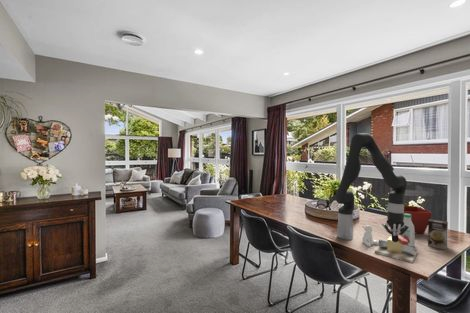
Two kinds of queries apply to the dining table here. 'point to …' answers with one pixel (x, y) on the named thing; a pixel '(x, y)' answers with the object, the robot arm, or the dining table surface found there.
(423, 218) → the plant pot
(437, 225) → the coffee box
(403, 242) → the valve lever
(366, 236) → the sitting furry creature
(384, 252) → the mounting board
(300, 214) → the dining table surface
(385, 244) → the valve body
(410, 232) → the milk bottle
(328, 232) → the dining table surface
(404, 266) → the dining table surface
